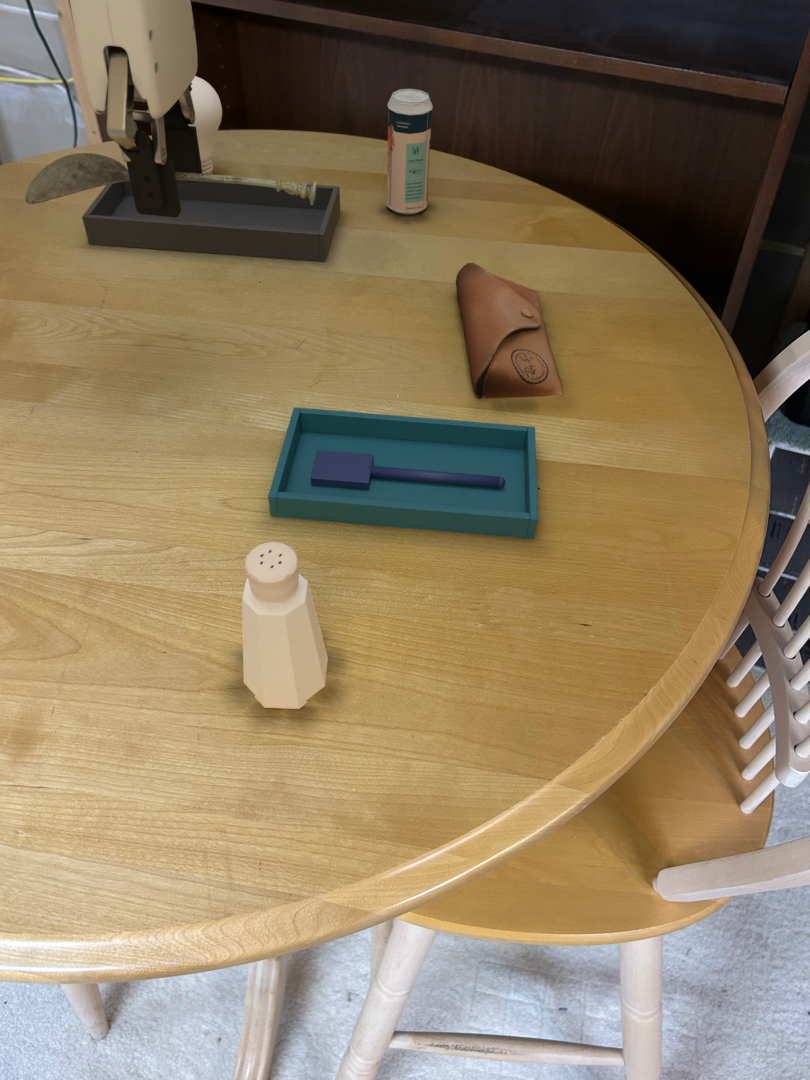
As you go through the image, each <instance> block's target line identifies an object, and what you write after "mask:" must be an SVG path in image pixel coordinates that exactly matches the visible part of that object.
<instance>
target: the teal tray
mask: <svg viewBox="0 0 810 1080" xmlns="http://www.w3.org/2000/svg"><path fill="white" fill-rule="evenodd" d="M536 443H537V442H536V427H535V426H532V425H531V426H529V425H528V426H527V425H519V424H518V425H517V424H507V423H505V424H503V423H493V422H481V421H468V420H455V419H444V418H432V417H418V416H407V415H395V414H394V415H393V414H384V413H383V414H381V413H370V412H369V413H368V412H359V411H345V410H334V409H332V410H331V409H320V408H307V407H297V406H296V407H295V406H294V407H293V408H292V413H291V416H290V420H289V422H288V426H287V429H286V434H285V437H284V440H283V444H282V447H281V450H280V453H279V457H278V460H277V464H276V468H275V471H274V475H273V478H272V482H271V484H270V489H269V492H268V496H267V498H268V506H269V513H270V514H269V515H270V517H272V518H284V519H295V520H307V521H319V522H329V523H330V522H331V523H342V524H353V525H354V524H355V525H364V526H365V525H366V526H378V527H379V526H380V527H389V528H390V527H391V528H399V529H400V528H402V529H411V530H412V529H413V530H424V531H434V532H435V531H437V532H447V533H459V534H468V535H469V534H471V535H482V536H492V537H493V536H494V537H506V538H516V539H517V538H518V539H527V540H528V539H529V540H534V539H535V536H536V531H537V527H538V523H539V505H538V504H539V503H538V475H537V474H538V472H537V470H538V469H537V445H536ZM317 450H322V451H334V452H346V453H358V454H371V455H373V456H374V457H373V466H379V467H391V468H403V469H415V470H427V471H439V472H451V473H463V474H475V475H487V476H499V477H503V478H504V479H505V485H504V487H502V488H488V487H476V486H465V485H453V484H441V483H429V482H417V481H405V480H393V479H381V478H371V480H370V486H369V490H361V489H349V488H337V487H325V486H313V485H311V474H312V470H313V466H314V462H315V458H316V454H317Z"/></svg>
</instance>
